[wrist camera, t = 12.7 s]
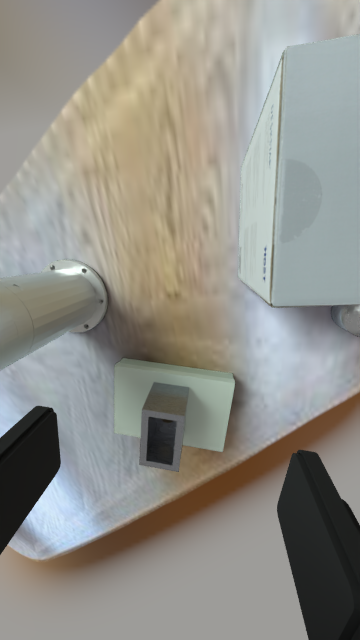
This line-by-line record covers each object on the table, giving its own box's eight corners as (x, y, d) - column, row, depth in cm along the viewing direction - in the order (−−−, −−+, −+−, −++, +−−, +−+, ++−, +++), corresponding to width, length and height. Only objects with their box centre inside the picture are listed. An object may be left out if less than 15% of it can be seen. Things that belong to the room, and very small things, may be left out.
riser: (121, 418, 47) (114, 433, 43) (122, 355, 43) (114, 365, 39) (221, 435, 45) (222, 452, 41) (232, 370, 41) (235, 383, 37)
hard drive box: (289, 277, 35) (379, 310, 16) (237, 279, 36) (265, 312, 17) (298, 159, 31) (436, 15, 12) (239, 165, 32) (279, 42, 13)
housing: (153, 381, 39) (141, 409, 32) (189, 387, 38) (184, 416, 32) (150, 430, 42) (139, 464, 35) (183, 436, 41) (178, 471, 35)
